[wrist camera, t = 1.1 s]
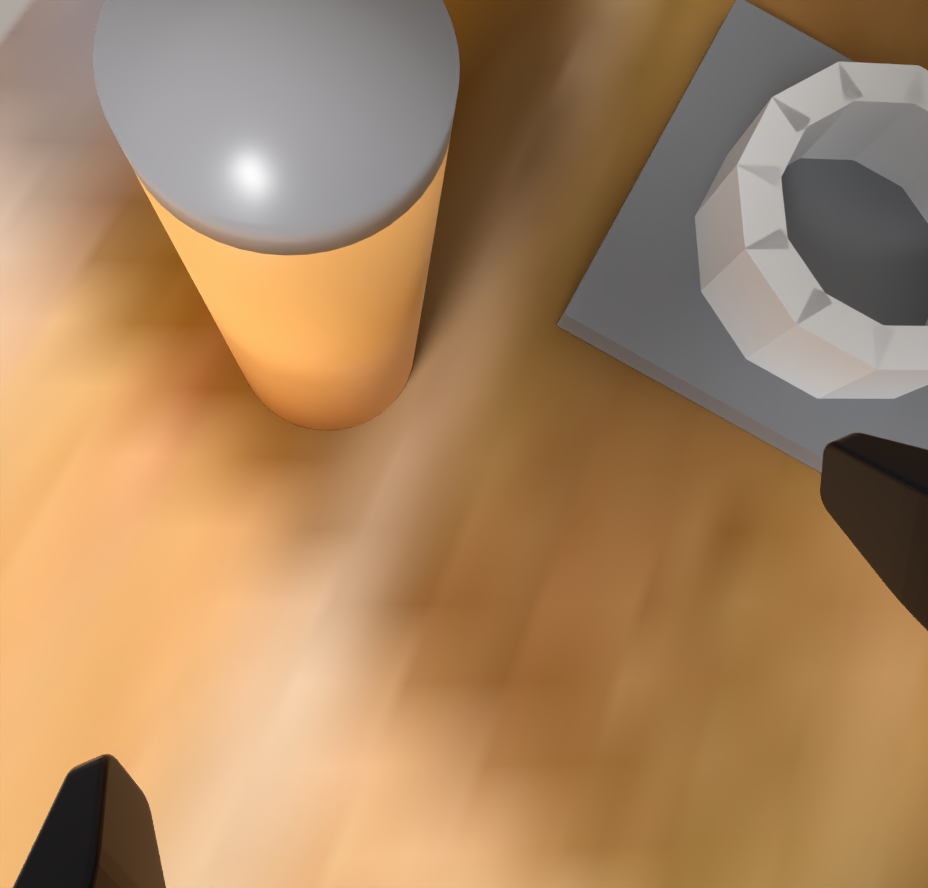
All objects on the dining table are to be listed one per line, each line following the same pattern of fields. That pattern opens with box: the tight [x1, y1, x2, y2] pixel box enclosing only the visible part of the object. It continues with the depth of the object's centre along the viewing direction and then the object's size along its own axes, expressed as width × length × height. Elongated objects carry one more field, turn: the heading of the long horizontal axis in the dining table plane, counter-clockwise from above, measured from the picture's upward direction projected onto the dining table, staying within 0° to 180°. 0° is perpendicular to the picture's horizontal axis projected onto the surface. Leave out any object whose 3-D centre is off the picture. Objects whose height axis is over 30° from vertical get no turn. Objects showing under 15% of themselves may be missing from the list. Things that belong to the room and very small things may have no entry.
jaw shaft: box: [93, 0, 460, 431], centre depth 18 cm, size 5×5×13 cm
